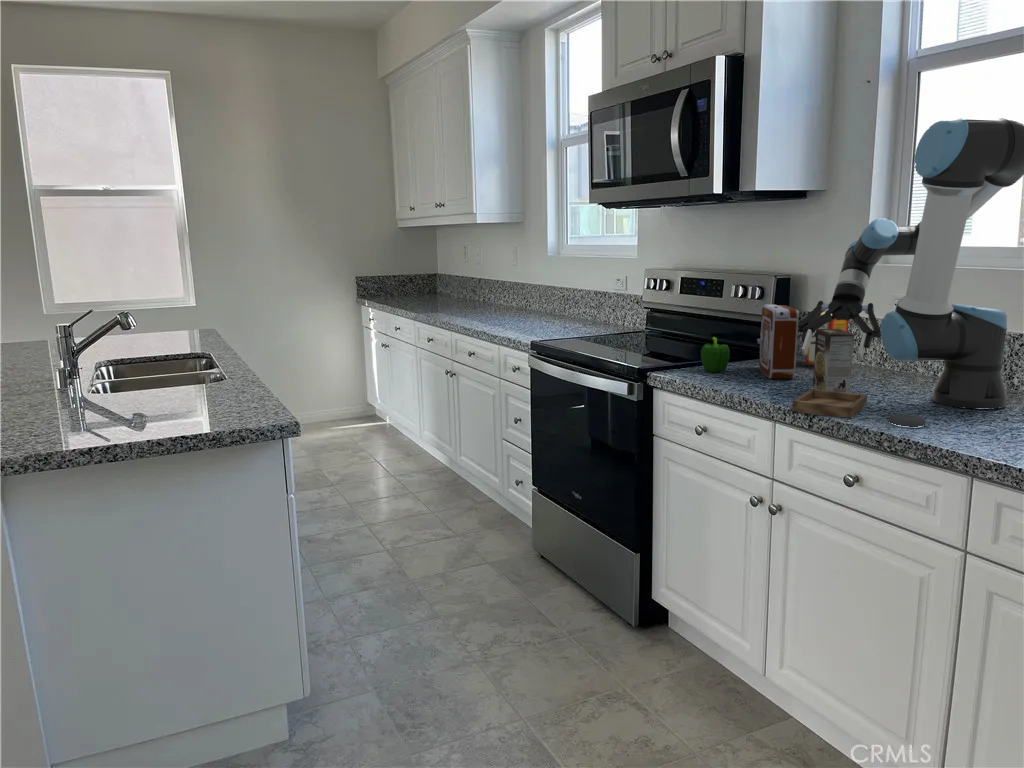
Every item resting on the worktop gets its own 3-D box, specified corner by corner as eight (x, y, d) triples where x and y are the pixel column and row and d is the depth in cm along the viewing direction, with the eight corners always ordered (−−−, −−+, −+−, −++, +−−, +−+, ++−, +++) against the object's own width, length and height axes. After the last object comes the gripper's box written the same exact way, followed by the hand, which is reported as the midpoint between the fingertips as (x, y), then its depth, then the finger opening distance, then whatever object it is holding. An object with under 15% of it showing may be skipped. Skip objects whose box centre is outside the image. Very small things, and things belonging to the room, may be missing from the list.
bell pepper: (727, 374, 219) (728, 340, 217) (698, 373, 222) (699, 339, 220) (730, 369, 227) (731, 336, 225) (702, 367, 230) (703, 335, 228)
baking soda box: (805, 363, 233) (808, 312, 229) (822, 362, 235) (825, 311, 231) (827, 369, 224) (831, 315, 221) (845, 367, 226) (848, 314, 223)
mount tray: (866, 405, 180) (867, 395, 179) (851, 418, 168) (852, 407, 168) (810, 398, 187) (811, 388, 187) (792, 411, 176) (792, 400, 175)
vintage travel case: (782, 367, 228) (785, 301, 224) (799, 380, 209) (804, 308, 205) (750, 367, 229) (754, 301, 225) (765, 380, 210) (769, 308, 206)
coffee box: (811, 389, 198) (815, 328, 194) (836, 389, 197) (840, 328, 194) (824, 397, 189) (828, 333, 185) (850, 397, 189) (855, 333, 185)
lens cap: (928, 424, 164) (929, 417, 163) (919, 431, 158) (920, 424, 158) (893, 419, 168) (894, 412, 168) (884, 426, 163) (884, 419, 163)
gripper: (902, 301, 197) (885, 367, 188) (804, 297, 211) (784, 358, 203) (900, 282, 191) (882, 349, 183) (800, 280, 206) (779, 341, 198)
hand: (831, 354), depth 193 cm, fingers open, 13 cm apart
